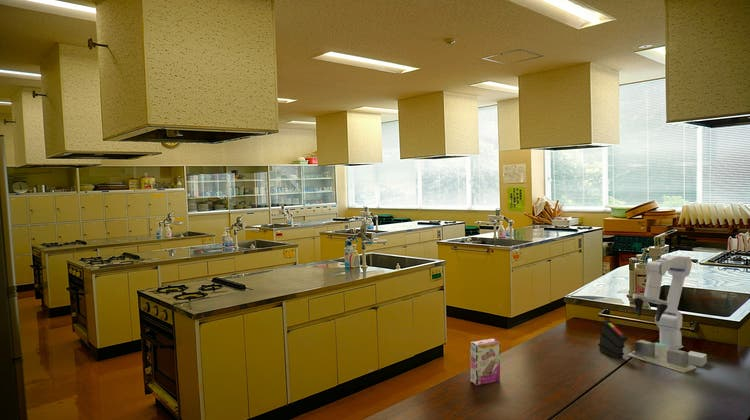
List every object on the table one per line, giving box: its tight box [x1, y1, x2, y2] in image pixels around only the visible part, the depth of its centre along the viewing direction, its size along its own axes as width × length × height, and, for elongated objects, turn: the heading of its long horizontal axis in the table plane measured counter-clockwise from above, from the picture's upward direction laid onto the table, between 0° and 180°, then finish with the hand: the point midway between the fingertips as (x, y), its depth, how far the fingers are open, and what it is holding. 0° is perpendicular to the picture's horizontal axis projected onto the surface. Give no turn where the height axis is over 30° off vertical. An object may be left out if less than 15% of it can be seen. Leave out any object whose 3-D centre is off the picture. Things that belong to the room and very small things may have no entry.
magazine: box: [597, 320, 629, 360], centre depth 217 cm, size 4×13×15 cm, turn 19°
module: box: [654, 342, 668, 358], centre depth 215 cm, size 4×5×5 cm
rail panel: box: [627, 339, 697, 374], centre depth 208 cm, size 9×24×7 cm, turn 30°
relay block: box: [688, 350, 708, 368], centre depth 205 cm, size 6×6×4 cm
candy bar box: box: [469, 338, 501, 387], centre depth 192 cm, size 11×5×16 cm, turn 111°
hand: (647, 318), depth 210 cm, fingers open, 7 cm apart
